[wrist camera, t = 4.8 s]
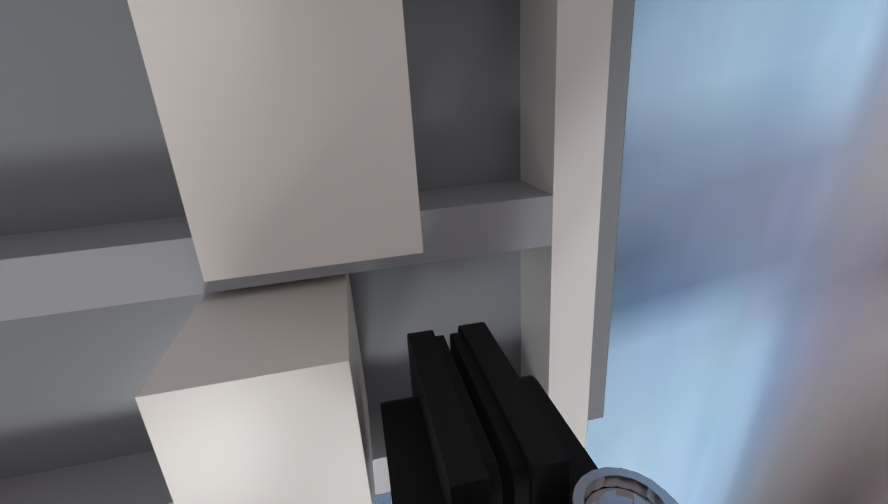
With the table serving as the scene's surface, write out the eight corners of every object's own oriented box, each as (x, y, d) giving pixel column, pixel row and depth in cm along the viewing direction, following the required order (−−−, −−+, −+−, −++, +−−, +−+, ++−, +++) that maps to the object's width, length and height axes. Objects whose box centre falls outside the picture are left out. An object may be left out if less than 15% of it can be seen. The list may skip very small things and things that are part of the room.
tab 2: (346, 255, 11) (349, 361, 7) (367, 398, 13) (380, 559, 8) (219, 272, 11) (133, 397, 6) (257, 419, 12) (211, 602, 8)
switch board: (599, -125, 12) (717, -224, 8) (575, 382, 17) (638, 461, 14) (-546, -148, 8) (-1335, -363, 4) (-101, 516, 13) (-270, 677, 10)
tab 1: (368, -17, 9) (392, -114, 5) (390, 188, 11) (422, 252, 7) (217, -14, 9) (95, -118, 4) (262, 201, 10) (204, 281, 6)
